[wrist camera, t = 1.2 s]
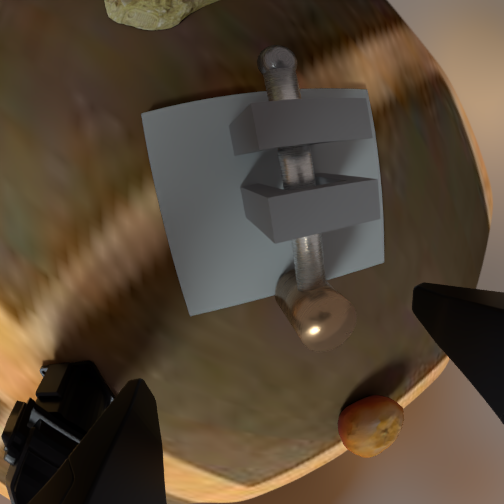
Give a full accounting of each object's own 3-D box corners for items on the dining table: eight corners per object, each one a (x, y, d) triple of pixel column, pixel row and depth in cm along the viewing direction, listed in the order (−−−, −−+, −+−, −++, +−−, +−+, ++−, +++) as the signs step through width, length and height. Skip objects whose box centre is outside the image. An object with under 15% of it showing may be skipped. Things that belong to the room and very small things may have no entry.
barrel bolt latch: (377, 258, 23) (437, 293, 16) (189, 309, 20) (193, 376, 13) (359, 91, 18) (426, 72, 11) (143, 116, 16) (115, 85, 9)
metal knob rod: (322, 304, 21) (356, 340, 16) (278, 317, 21) (303, 359, 16) (287, 60, 15) (321, 30, 10) (234, 64, 15) (252, 29, 10)
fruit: (327, 449, 29) (356, 474, 21) (322, 399, 30) (353, 416, 23) (378, 430, 30) (412, 446, 23) (376, 381, 32) (413, 390, 24)
